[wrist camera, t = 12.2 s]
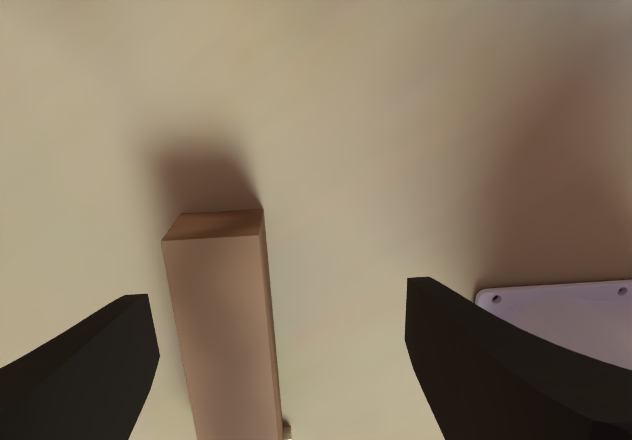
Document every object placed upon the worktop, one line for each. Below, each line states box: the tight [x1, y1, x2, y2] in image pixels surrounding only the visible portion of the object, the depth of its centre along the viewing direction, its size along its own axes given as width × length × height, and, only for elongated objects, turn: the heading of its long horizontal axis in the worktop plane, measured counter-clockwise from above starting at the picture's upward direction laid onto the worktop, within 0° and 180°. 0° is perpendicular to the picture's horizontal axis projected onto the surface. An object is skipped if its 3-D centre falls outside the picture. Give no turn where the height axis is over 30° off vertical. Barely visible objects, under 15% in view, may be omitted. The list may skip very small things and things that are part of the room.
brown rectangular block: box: [161, 209, 292, 440], centre depth 22 cm, size 5×18×4 cm, turn 2°
